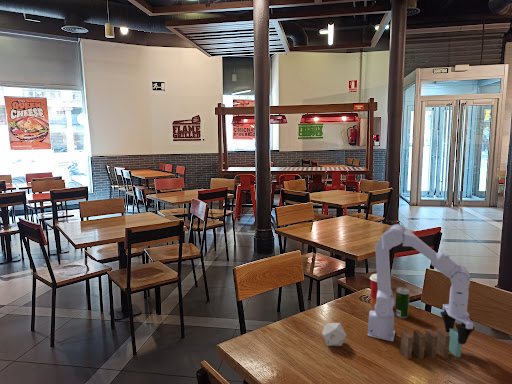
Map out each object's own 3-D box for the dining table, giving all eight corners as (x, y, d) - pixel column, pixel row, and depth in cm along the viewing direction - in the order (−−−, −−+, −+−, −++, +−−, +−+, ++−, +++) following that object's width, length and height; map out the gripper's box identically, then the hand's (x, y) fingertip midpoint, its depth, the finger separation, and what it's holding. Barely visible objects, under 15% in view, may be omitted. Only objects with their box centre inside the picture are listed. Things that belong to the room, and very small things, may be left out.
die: (317, 342, 138) (320, 331, 131) (328, 324, 143) (331, 313, 136) (336, 355, 135) (340, 345, 128) (346, 336, 140) (351, 326, 133)
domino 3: (431, 357, 127) (433, 336, 126) (424, 349, 132) (425, 329, 131) (436, 357, 127) (437, 336, 126) (428, 349, 132) (429, 329, 131)
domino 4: (444, 357, 127) (445, 336, 126) (436, 349, 132) (437, 328, 131) (448, 357, 127) (450, 336, 126) (440, 349, 132) (441, 328, 131)
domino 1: (406, 358, 127) (408, 337, 125) (400, 350, 132) (401, 330, 130) (411, 358, 127) (412, 337, 126) (404, 350, 132) (405, 330, 131)
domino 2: (419, 358, 127) (420, 337, 126) (412, 350, 132) (413, 329, 131) (423, 358, 127) (425, 337, 126) (416, 350, 132) (417, 329, 131)
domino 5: (456, 356, 128) (458, 335, 127) (448, 348, 133) (449, 328, 131) (460, 356, 128) (462, 335, 127) (452, 348, 133) (453, 328, 132)
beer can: (404, 319, 154) (406, 293, 152) (392, 315, 158) (394, 289, 156) (410, 315, 158) (411, 289, 156) (398, 311, 162) (399, 286, 160)
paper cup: (386, 302, 170) (387, 274, 168) (386, 309, 163) (387, 280, 161) (368, 300, 173) (370, 272, 171) (368, 307, 166) (369, 278, 164)
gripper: (483, 310, 121) (479, 348, 122) (456, 292, 135) (453, 326, 137) (462, 311, 120) (459, 349, 122) (438, 293, 134) (435, 327, 136)
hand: (455, 337), depth 129 cm, fingers open, 7 cm apart
